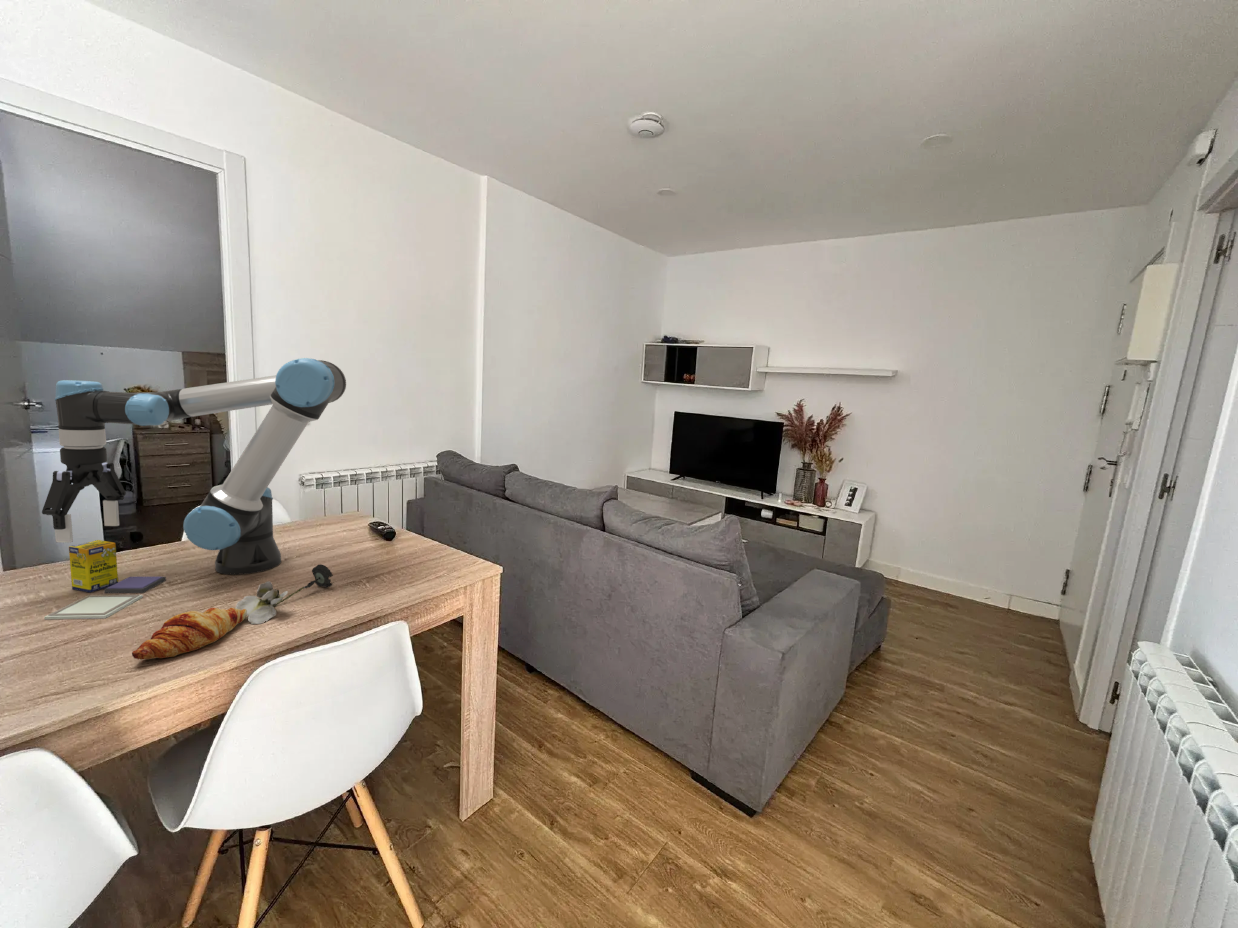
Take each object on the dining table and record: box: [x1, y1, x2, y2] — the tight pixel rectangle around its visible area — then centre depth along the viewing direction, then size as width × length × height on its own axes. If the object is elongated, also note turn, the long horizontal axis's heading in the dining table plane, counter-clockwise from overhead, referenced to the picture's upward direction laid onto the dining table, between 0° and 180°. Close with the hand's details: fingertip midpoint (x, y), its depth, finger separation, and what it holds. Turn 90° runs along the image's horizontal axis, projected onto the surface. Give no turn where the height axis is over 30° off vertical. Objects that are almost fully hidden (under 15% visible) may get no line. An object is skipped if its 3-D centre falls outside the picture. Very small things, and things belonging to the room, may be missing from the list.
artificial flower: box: [235, 563, 334, 625], centre depth 120 cm, size 9×22×10 cm, turn 162°
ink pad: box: [103, 576, 167, 594], centre depth 124 cm, size 8×8×1 cm
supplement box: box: [68, 539, 119, 594], centre depth 122 cm, size 6×6×11 cm
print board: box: [44, 594, 144, 620], centre depth 113 cm, size 11×11×1 cm
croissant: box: [131, 607, 247, 660], centre depth 102 cm, size 21×10×8 cm, turn 166°
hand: (89, 533), depth 121 cm, fingers open, 13 cm apart
